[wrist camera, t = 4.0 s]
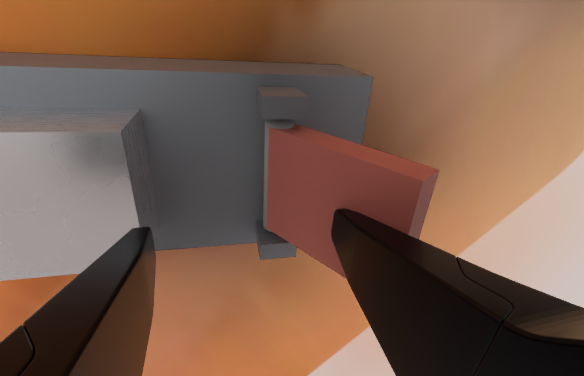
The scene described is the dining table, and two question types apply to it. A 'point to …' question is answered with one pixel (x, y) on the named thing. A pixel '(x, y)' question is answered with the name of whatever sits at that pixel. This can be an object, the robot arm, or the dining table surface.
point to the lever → (336, 187)
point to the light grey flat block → (70, 187)
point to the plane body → (199, 128)
